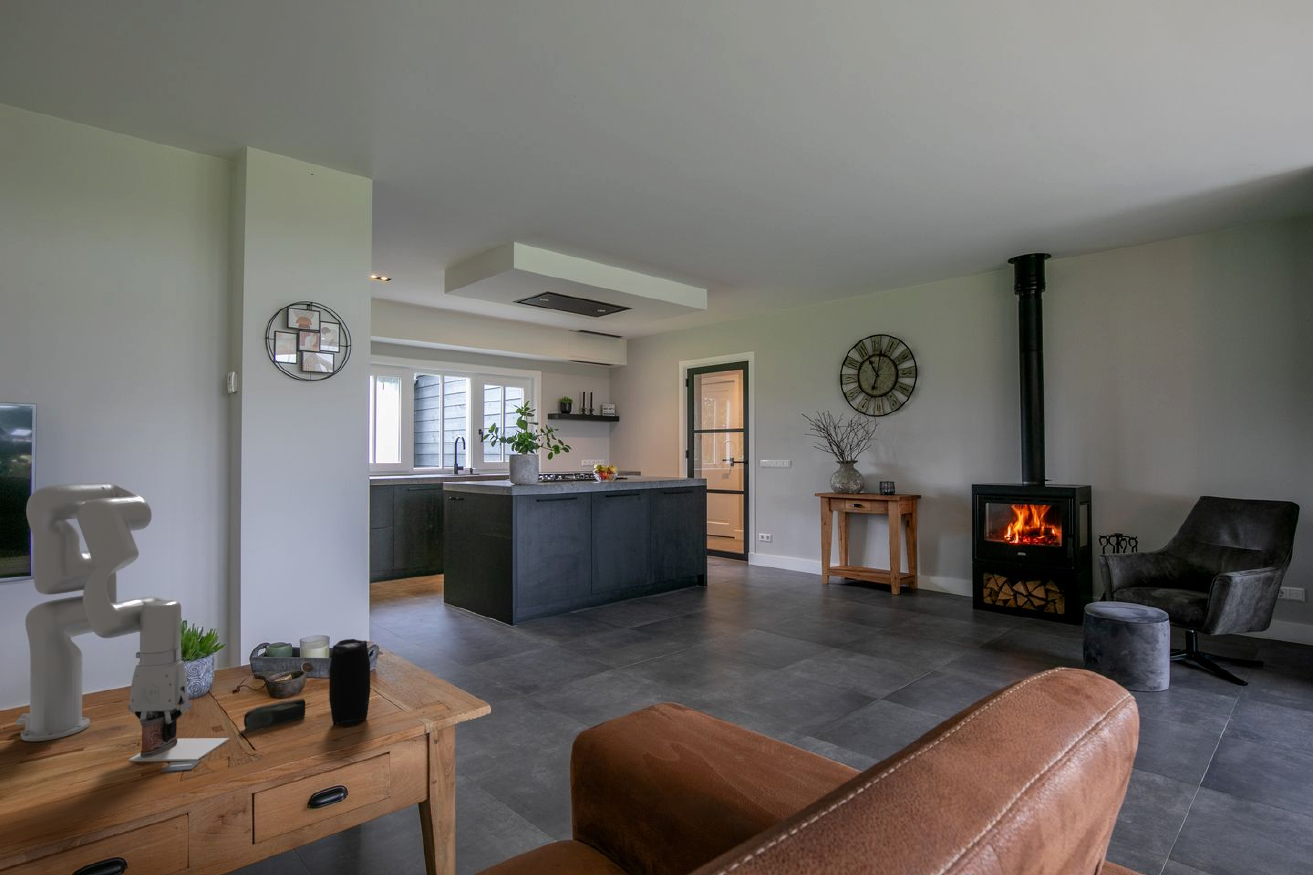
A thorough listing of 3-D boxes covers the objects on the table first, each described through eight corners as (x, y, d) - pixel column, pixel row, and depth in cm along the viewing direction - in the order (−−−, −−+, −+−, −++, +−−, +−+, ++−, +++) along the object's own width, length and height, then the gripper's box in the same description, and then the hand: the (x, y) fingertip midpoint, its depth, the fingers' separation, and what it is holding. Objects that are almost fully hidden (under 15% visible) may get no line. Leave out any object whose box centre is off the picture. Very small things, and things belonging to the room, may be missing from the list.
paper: (128, 761, 150) (128, 759, 150) (165, 740, 161) (165, 738, 161) (197, 760, 150) (197, 758, 150) (229, 739, 161) (229, 738, 161)
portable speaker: (377, 717, 173) (377, 639, 174) (345, 731, 165) (346, 649, 165) (353, 712, 177) (353, 636, 177) (321, 725, 169) (321, 645, 169)
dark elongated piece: (303, 696, 176) (236, 711, 165) (307, 699, 174) (240, 714, 163) (302, 716, 176) (236, 732, 165) (306, 719, 174) (240, 735, 163)
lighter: (148, 757, 150) (149, 711, 150) (136, 756, 151) (136, 710, 151) (181, 742, 158) (182, 698, 158) (169, 741, 158) (169, 697, 159)
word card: (160, 772, 144) (160, 770, 144) (170, 764, 148) (170, 762, 148) (191, 770, 145) (191, 768, 145) (200, 761, 149) (201, 759, 149)
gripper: (110, 662, 151) (109, 746, 151) (185, 661, 151) (185, 746, 150) (136, 652, 158) (135, 732, 158) (208, 652, 158) (207, 732, 158)
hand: (159, 738), depth 154 cm, fingers closed on lighter, 3 cm apart
